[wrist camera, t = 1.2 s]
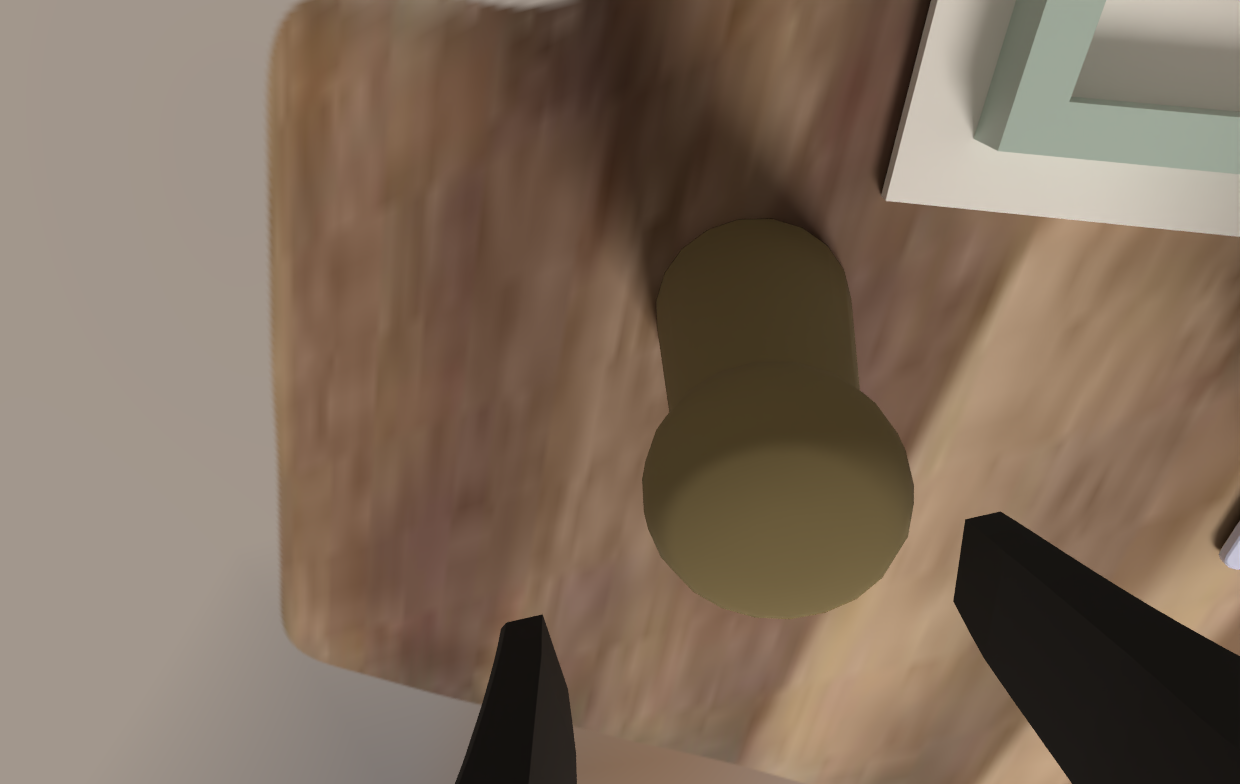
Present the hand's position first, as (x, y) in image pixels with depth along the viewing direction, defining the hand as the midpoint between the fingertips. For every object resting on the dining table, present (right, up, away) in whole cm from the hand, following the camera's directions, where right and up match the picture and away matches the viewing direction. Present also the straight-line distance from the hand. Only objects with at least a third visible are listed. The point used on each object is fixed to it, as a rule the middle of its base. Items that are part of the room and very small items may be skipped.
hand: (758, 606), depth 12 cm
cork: (+2, +6, +10) cm, 12 cm away
